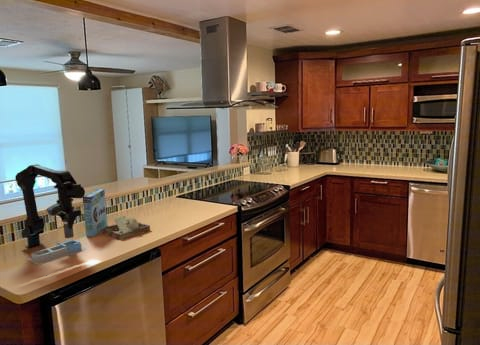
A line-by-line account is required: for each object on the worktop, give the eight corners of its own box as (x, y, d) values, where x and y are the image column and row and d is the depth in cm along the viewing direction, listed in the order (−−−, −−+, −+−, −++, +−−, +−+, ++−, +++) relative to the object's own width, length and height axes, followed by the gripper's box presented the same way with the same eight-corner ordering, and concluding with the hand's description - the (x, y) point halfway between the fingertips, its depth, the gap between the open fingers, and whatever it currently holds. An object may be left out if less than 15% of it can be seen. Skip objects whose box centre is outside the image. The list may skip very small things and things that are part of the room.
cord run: (56, 245, 190) (55, 243, 190) (58, 244, 191) (58, 242, 191) (64, 249, 184) (64, 247, 184) (66, 248, 185) (66, 246, 185)
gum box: (100, 226, 222) (96, 189, 218) (108, 225, 222) (104, 189, 218) (85, 236, 203) (81, 196, 199) (94, 236, 203) (90, 196, 199)
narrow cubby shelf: (27, 260, 171) (26, 251, 170) (75, 246, 188) (74, 237, 188) (37, 267, 163) (36, 257, 163) (86, 251, 181) (85, 242, 180)
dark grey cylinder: (62, 237, 179) (60, 219, 178) (71, 234, 182) (69, 217, 181) (66, 238, 176) (64, 221, 175) (75, 236, 180) (73, 218, 178)
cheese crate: (102, 233, 208) (102, 228, 207) (131, 224, 222) (130, 220, 222) (121, 239, 196) (120, 234, 195) (150, 230, 210) (149, 225, 209)
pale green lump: (141, 238, 203) (143, 216, 213) (133, 232, 198) (136, 209, 208) (117, 245, 207) (121, 223, 217) (109, 239, 202) (114, 217, 212)
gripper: (39, 198, 176) (43, 228, 179) (56, 203, 164) (60, 236, 167) (62, 193, 184) (65, 223, 187) (80, 198, 172) (83, 229, 175)
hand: (68, 228), depth 179 cm, fingers closed on dark grey cylinder, 4 cm apart
